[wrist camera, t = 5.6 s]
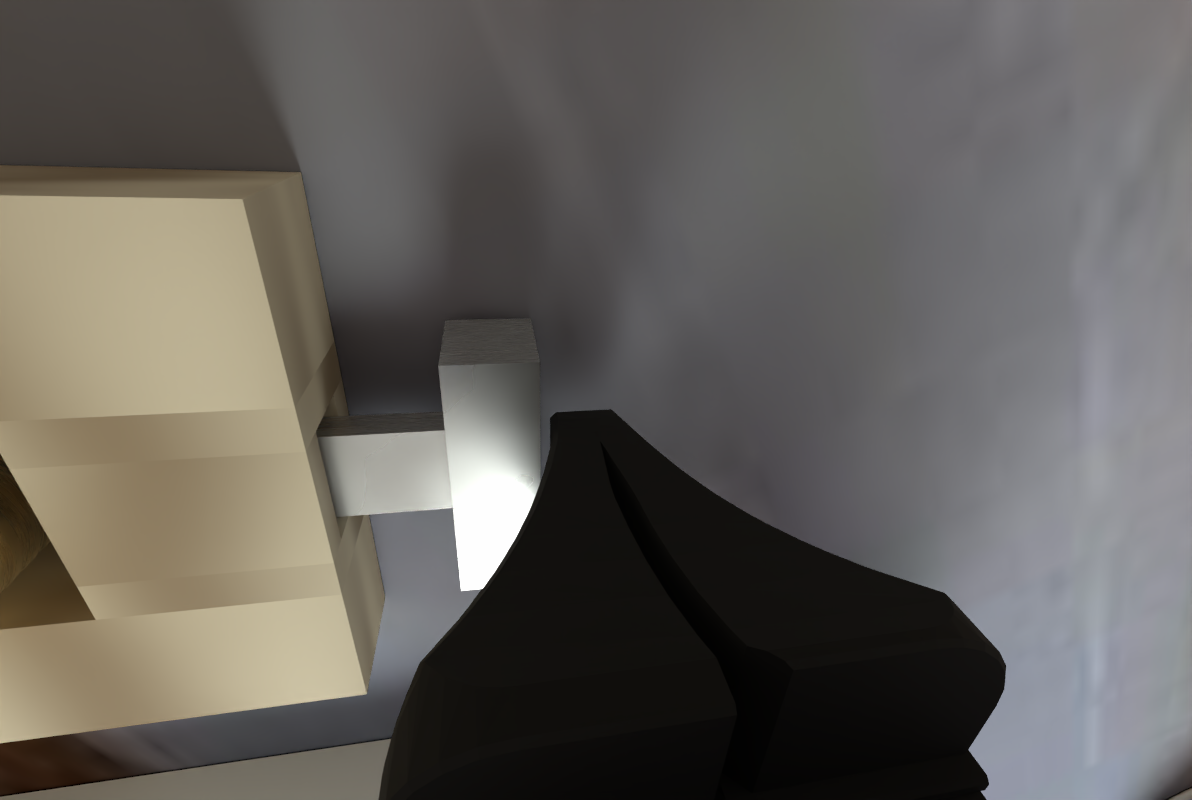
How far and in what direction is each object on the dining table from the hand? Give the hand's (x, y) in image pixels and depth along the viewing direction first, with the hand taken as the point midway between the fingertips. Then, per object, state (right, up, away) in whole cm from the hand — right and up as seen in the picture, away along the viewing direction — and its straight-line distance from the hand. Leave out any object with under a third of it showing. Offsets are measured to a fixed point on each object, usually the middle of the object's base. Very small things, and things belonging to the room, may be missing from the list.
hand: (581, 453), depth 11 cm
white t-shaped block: (-5, 0, 0) cm, 5 cm away
